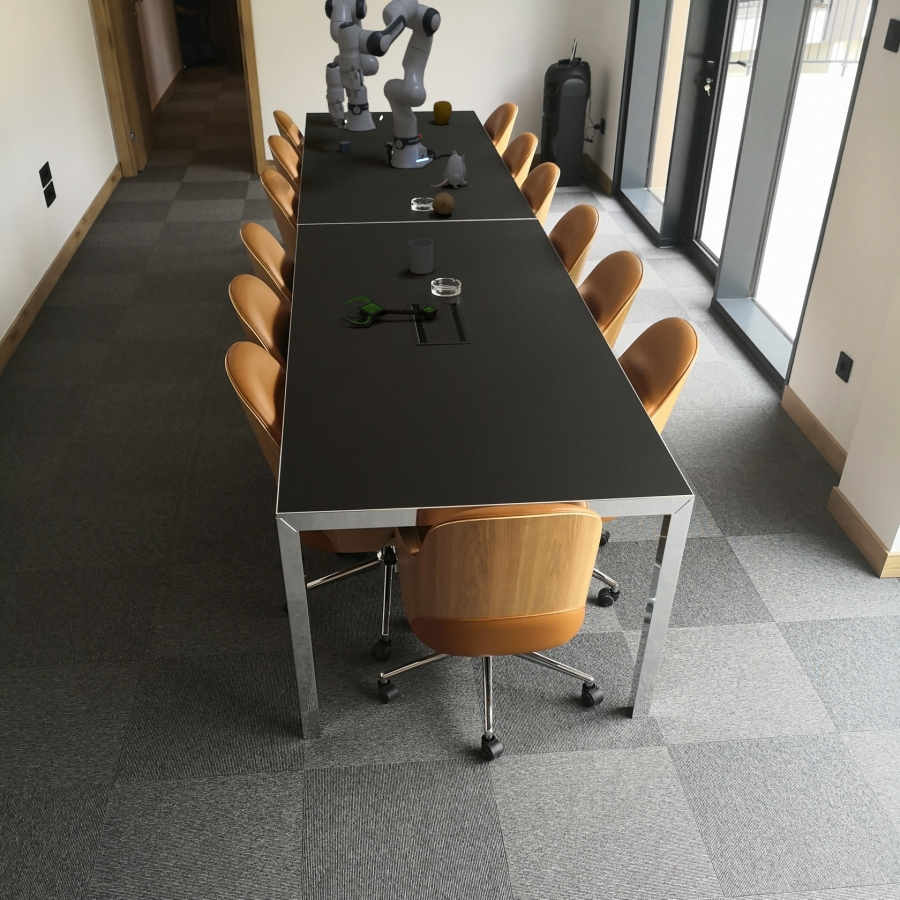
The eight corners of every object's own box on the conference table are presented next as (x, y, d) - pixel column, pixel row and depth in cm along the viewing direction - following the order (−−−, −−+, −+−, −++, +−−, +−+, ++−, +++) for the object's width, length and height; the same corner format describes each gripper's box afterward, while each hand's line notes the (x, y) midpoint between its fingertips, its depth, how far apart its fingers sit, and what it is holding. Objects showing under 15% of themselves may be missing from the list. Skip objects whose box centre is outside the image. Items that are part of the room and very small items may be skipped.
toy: (472, 184, 399) (472, 151, 391) (436, 195, 384) (436, 161, 376) (457, 180, 404) (458, 147, 396) (422, 191, 389) (421, 157, 381)
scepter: (438, 291, 273) (342, 288, 271) (439, 321, 266) (340, 319, 264) (437, 304, 278) (343, 302, 276) (438, 334, 271) (341, 332, 269)
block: (341, 152, 448) (341, 143, 446) (339, 150, 452) (339, 141, 449) (350, 152, 450) (350, 142, 447) (348, 150, 453) (348, 141, 451)
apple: (451, 126, 500) (451, 102, 493) (433, 126, 500) (432, 102, 493) (452, 121, 509) (452, 98, 502) (433, 121, 509) (433, 98, 502)
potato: (453, 208, 369) (453, 189, 365) (456, 218, 357) (456, 199, 353) (431, 208, 368) (430, 189, 364) (432, 218, 356) (432, 199, 352)
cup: (409, 265, 311) (408, 238, 306) (432, 265, 312) (431, 238, 307) (410, 274, 304) (409, 246, 299) (433, 273, 305) (433, 246, 299)
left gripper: (346, 100, 432) (348, 130, 439) (337, 94, 448) (338, 122, 455) (334, 101, 430) (336, 130, 437) (325, 95, 446) (326, 123, 453)
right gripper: (363, 68, 363) (365, 103, 370) (350, 60, 379) (352, 94, 386) (348, 68, 361) (350, 104, 368) (336, 61, 377) (338, 95, 385)
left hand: (337, 126), depth 446 cm, fingers open, 8 cm apart
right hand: (351, 99), depth 378 cm, fingers open, 8 cm apart
